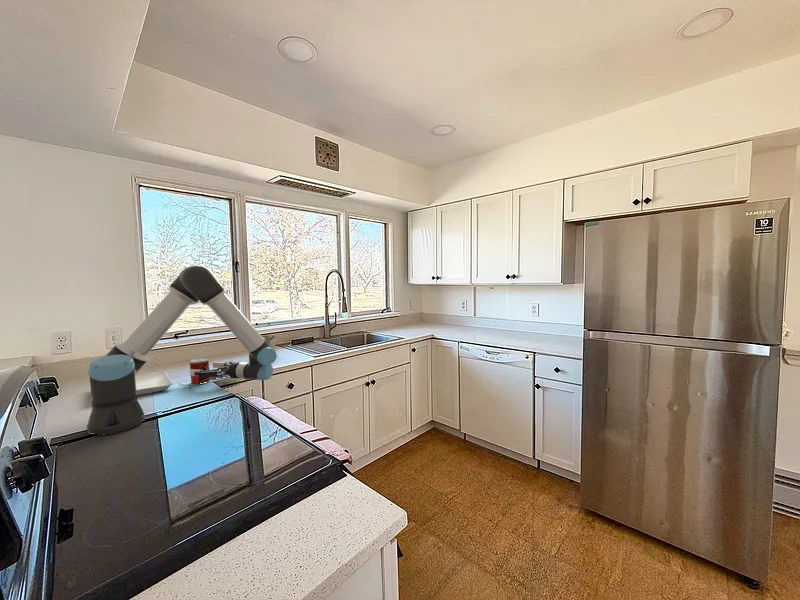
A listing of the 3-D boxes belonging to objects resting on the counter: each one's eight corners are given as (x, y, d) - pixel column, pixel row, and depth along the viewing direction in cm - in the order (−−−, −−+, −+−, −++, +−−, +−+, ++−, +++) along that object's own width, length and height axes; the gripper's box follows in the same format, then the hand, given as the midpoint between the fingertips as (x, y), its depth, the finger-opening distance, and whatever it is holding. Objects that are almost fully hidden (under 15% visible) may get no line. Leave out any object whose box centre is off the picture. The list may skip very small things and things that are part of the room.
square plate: (94, 390, 155) (93, 382, 155) (166, 378, 172) (166, 370, 172) (91, 407, 134) (90, 398, 134) (173, 391, 152) (172, 382, 151)
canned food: (201, 385, 158) (200, 362, 157) (187, 384, 160) (185, 361, 159) (213, 380, 166) (212, 358, 165) (199, 379, 167) (198, 357, 166)
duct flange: (222, 380, 166) (222, 377, 166) (202, 378, 168) (201, 376, 168) (239, 373, 177) (239, 370, 177) (220, 372, 180) (219, 369, 180)
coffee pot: (253, 356, 215) (252, 333, 214) (271, 353, 222) (270, 330, 221) (266, 362, 199) (264, 337, 198) (285, 358, 206) (283, 334, 205)
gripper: (220, 387, 146) (180, 384, 151) (258, 370, 170) (222, 369, 175) (219, 369, 145) (179, 367, 150) (257, 356, 169) (221, 354, 174)
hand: (202, 368), depth 162 cm, fingers open, 13 cm apart
